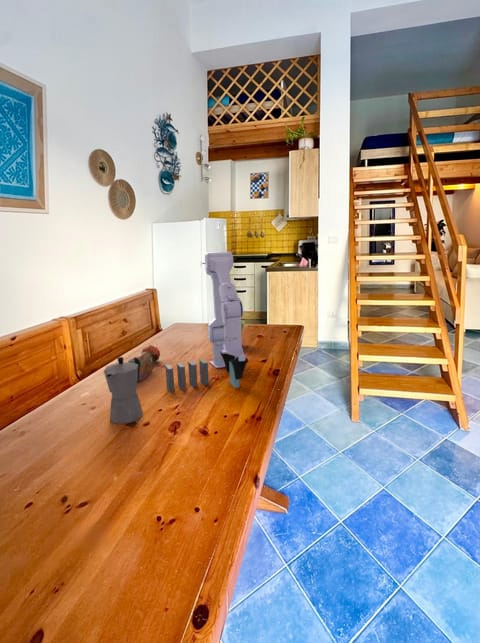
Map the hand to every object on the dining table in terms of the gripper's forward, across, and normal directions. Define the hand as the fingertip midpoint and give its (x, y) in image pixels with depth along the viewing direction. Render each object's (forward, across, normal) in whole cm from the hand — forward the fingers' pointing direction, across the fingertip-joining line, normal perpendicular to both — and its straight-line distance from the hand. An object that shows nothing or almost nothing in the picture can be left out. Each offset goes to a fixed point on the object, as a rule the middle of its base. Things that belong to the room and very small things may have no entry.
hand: (234, 375), depth 129 cm
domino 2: (+4, -7, -16) cm, 18 cm away
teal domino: (+4, 0, 0) cm, 4 cm away
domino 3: (+4, -7, -12) cm, 15 cm away
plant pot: (+4, -43, +17) cm, 46 cm away
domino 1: (+4, -7, -20) cm, 22 cm away
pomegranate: (+4, -38, -21) cm, 44 cm away
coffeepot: (+4, +6, -36) cm, 37 cm away
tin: (+4, -24, -27) cm, 36 cm away
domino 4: (+4, -7, -8) cm, 12 cm away
